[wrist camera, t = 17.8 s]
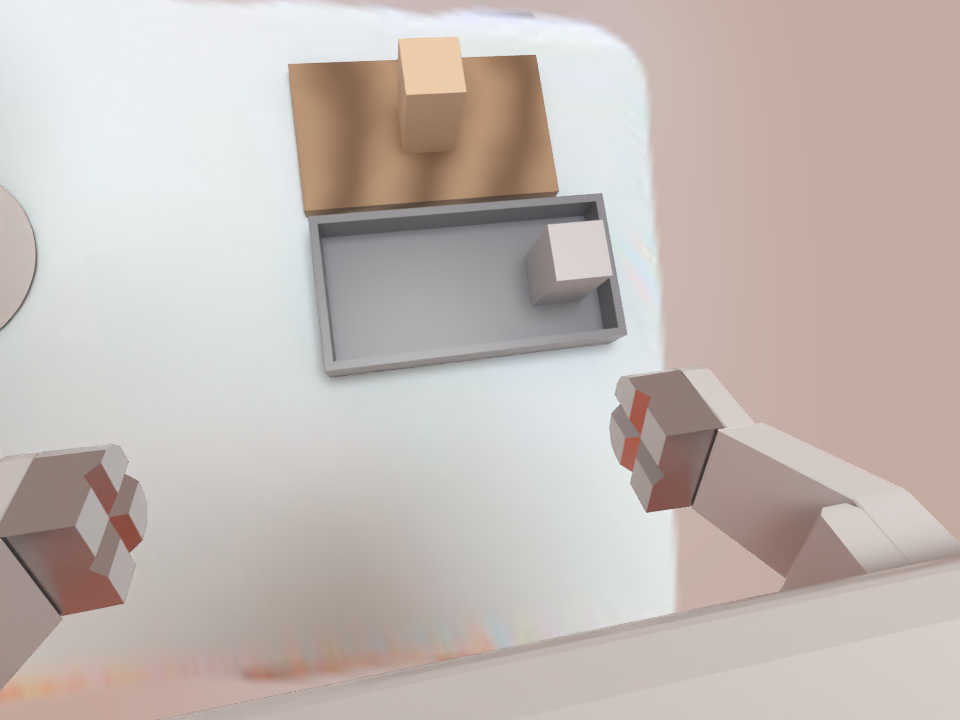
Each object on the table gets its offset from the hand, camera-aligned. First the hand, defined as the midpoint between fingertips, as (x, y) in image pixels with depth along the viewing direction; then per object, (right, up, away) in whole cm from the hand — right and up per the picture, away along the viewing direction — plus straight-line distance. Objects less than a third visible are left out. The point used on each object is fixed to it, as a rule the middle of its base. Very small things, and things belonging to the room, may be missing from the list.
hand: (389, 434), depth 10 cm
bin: (0, +7, +37) cm, 38 cm away
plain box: (+7, +8, +38) cm, 39 cm away
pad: (-3, +19, +39) cm, 43 cm away
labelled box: (-3, +20, +37) cm, 42 cm away
